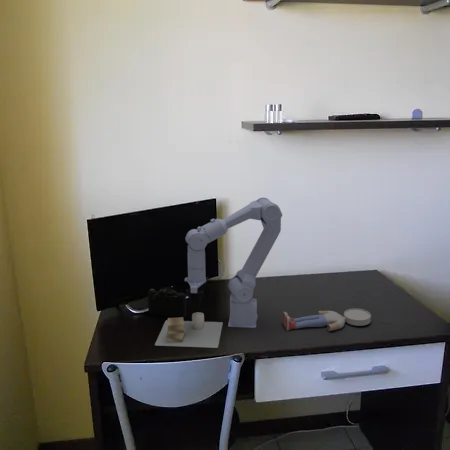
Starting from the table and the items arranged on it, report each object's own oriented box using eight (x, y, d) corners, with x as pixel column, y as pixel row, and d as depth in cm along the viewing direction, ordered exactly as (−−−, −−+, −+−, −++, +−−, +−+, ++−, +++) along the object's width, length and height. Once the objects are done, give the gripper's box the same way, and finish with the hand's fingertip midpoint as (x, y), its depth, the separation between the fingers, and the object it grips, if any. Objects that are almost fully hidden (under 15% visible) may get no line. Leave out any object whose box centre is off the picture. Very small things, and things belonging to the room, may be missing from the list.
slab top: (183, 325, 159) (183, 317, 158) (184, 332, 154) (183, 324, 154) (168, 326, 159) (167, 318, 158) (168, 334, 154) (167, 325, 153)
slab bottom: (185, 334, 160) (184, 326, 159) (182, 342, 155) (182, 333, 154) (170, 334, 160) (169, 325, 159) (167, 341, 155) (166, 333, 154)
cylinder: (204, 324, 166) (204, 312, 165) (203, 330, 162) (203, 317, 161) (193, 324, 167) (192, 312, 165) (191, 329, 163) (191, 317, 162)
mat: (222, 323, 168) (222, 322, 168) (217, 348, 151) (217, 347, 151) (165, 321, 170) (165, 320, 169) (154, 346, 153) (154, 345, 153)
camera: (193, 307, 180) (192, 282, 177) (183, 320, 170) (182, 294, 168) (158, 303, 184) (157, 278, 181) (146, 316, 174) (145, 290, 171)
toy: (290, 322, 157) (378, 313, 161) (280, 306, 169) (362, 298, 173) (290, 338, 159) (377, 329, 163) (280, 321, 171) (361, 312, 175)
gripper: (188, 258, 166) (189, 295, 170) (180, 274, 152) (181, 313, 156) (208, 258, 165) (209, 295, 169) (202, 274, 151) (203, 314, 155)
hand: (197, 304), depth 162 cm, fingers open, 7 cm apart
